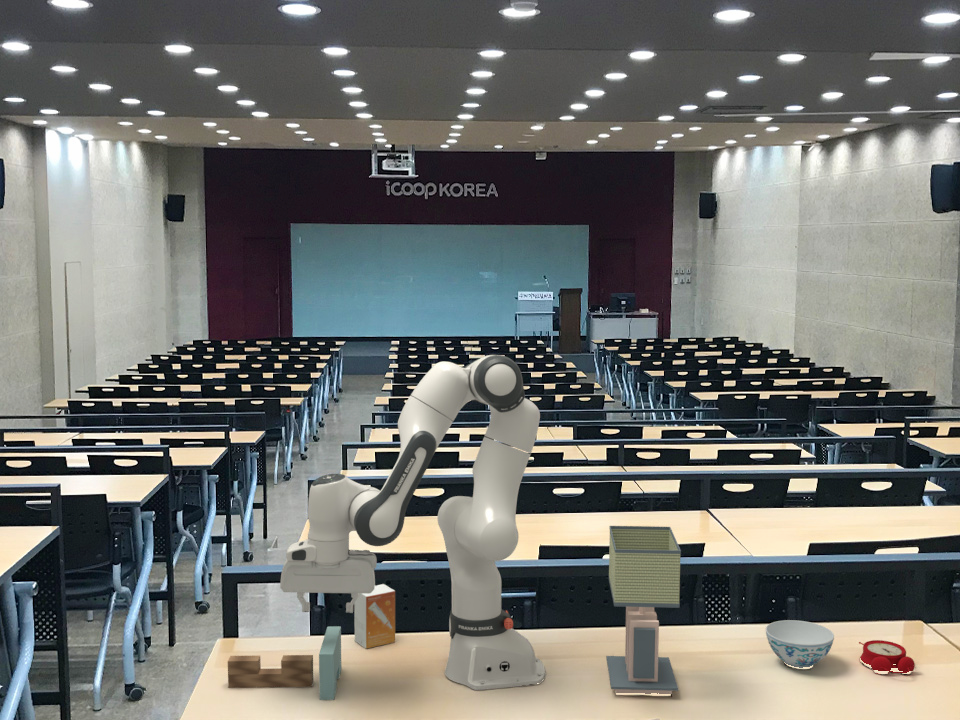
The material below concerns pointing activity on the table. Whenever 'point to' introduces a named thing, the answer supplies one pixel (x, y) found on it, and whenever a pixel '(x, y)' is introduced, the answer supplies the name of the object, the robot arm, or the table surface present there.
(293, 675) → the walnut notched block
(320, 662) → the teal plate
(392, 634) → the small box
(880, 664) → the alarm clock
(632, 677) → the desk lamp
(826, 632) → the chinaware
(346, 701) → the table surface
